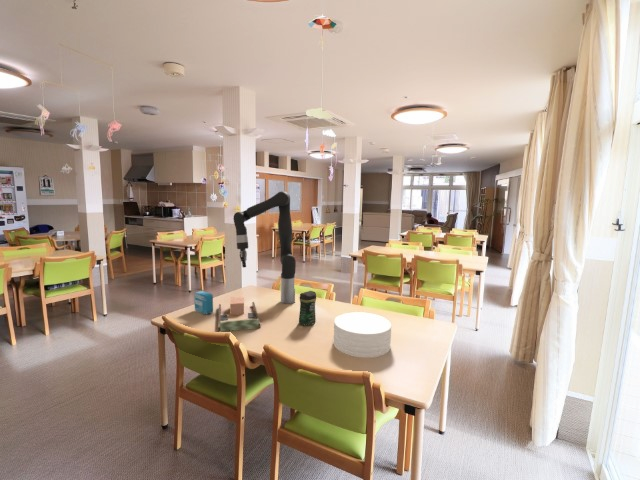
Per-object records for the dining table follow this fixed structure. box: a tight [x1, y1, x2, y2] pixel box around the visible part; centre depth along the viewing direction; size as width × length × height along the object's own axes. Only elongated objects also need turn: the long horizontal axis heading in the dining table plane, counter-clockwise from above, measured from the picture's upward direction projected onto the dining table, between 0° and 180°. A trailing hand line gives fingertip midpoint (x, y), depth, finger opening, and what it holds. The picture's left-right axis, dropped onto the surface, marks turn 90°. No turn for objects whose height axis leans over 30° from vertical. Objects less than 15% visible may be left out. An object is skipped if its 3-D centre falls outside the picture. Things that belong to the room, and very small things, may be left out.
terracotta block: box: [229, 296, 245, 316], centre depth 204 cm, size 8×12×7 cm, turn 13°
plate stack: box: [333, 311, 392, 359], centre depth 162 cm, size 28×28×12 cm
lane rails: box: [217, 301, 261, 332], centre depth 193 cm, size 22×38×5 cm, turn 16°
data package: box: [193, 290, 214, 315], centre depth 201 cm, size 12×4×12 cm, turn 57°
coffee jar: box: [298, 290, 317, 326], centre depth 186 cm, size 10×8×19 cm
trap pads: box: [221, 312, 256, 321], centre depth 195 cm, size 20×8×1 cm, turn 107°
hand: (244, 267), depth 220 cm, fingers closed
